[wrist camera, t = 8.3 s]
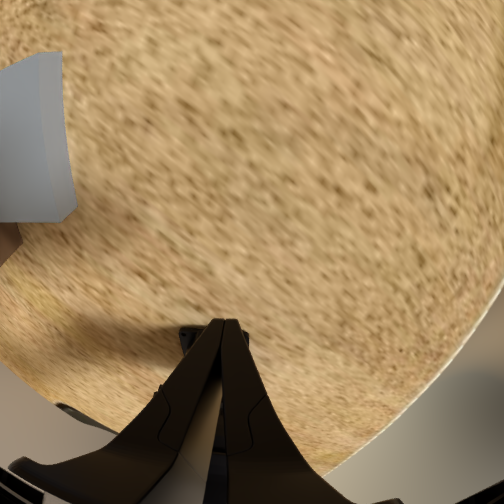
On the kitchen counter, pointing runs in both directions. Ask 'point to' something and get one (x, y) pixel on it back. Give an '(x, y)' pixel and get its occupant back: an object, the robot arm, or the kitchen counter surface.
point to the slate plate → (34, 142)
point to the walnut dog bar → (8, 240)
